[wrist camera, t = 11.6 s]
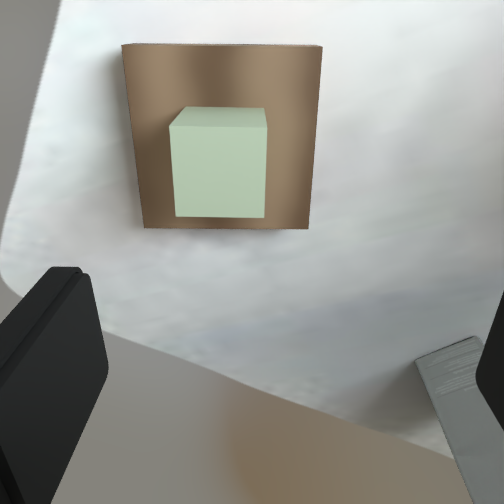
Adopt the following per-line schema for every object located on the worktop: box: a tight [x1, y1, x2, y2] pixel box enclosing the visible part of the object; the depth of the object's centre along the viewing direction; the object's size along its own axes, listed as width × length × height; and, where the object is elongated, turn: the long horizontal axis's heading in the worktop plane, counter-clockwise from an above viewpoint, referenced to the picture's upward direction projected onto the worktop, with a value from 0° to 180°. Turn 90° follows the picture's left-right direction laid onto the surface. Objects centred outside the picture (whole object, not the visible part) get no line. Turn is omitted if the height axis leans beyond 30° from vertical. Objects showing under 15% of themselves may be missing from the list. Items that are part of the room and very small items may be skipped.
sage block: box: [169, 107, 267, 218], centre depth 25 cm, size 5×5×6 cm
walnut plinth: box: [121, 43, 323, 229], centre depth 29 cm, size 12×12×3 cm
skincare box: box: [415, 336, 504, 504], centre depth 34 cm, size 8×7×16 cm
